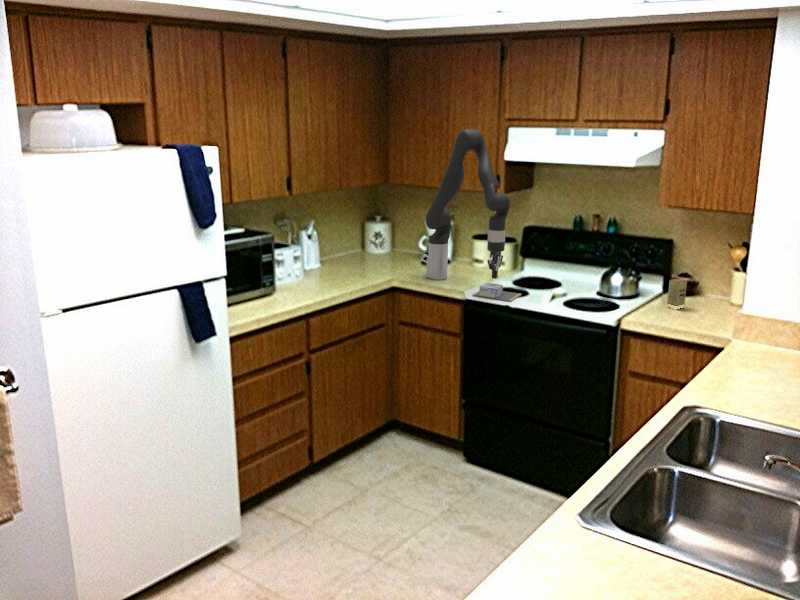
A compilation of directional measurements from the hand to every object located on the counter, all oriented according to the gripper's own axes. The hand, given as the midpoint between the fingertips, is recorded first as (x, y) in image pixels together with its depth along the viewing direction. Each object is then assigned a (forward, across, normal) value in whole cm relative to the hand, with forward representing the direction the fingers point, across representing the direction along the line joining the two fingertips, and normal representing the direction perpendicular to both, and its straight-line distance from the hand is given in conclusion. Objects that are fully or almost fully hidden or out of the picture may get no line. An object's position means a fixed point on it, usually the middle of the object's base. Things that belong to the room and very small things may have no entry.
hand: (494, 278), depth 335 cm
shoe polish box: (+8, -21, +74) cm, 77 cm away
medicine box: (+5, -1, 0) cm, 5 cm away
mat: (+8, +1, +2) cm, 8 cm away
